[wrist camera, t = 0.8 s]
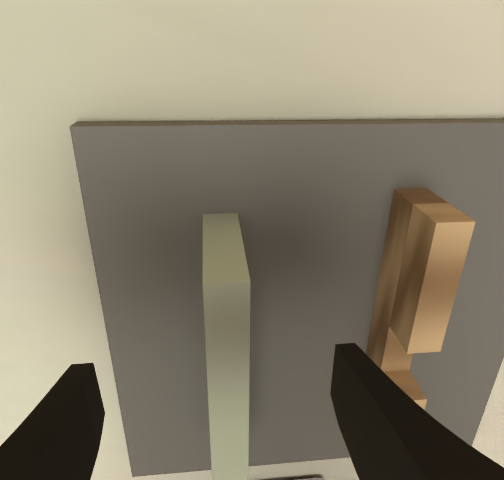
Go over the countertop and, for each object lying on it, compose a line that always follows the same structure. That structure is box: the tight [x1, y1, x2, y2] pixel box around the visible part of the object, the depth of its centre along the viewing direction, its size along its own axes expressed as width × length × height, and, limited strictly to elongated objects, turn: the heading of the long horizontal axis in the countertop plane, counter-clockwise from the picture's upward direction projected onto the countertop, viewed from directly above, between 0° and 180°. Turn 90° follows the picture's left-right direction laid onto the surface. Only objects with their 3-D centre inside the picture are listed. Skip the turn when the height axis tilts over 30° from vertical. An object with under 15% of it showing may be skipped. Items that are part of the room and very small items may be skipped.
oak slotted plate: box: [366, 188, 476, 410], centre depth 21 cm, size 16×2×4 cm, turn 179°
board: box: [70, 119, 504, 477], centre depth 23 cm, size 22×23×1 cm
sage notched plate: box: [202, 213, 250, 480], centre depth 20 cm, size 14×2×6 cm, turn 179°
